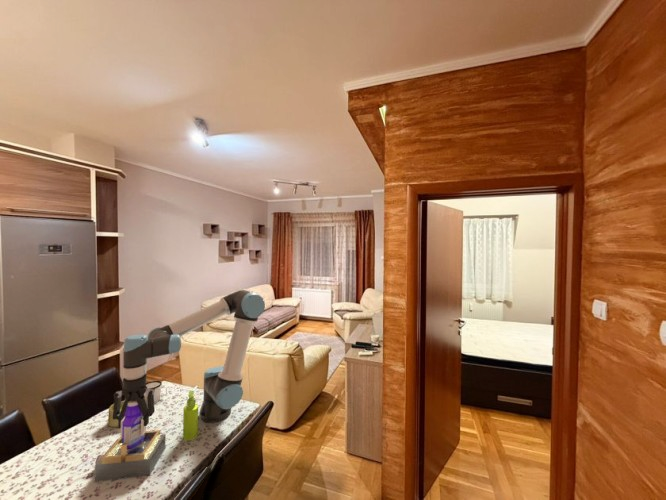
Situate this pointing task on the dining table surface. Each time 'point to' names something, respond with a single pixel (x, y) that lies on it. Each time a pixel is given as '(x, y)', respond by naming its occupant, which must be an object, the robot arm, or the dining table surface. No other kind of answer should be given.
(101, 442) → the dining table surface
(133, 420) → the bottle
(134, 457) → the grey and tan box
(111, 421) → the mug
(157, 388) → the mug
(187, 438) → the soap dispenser
